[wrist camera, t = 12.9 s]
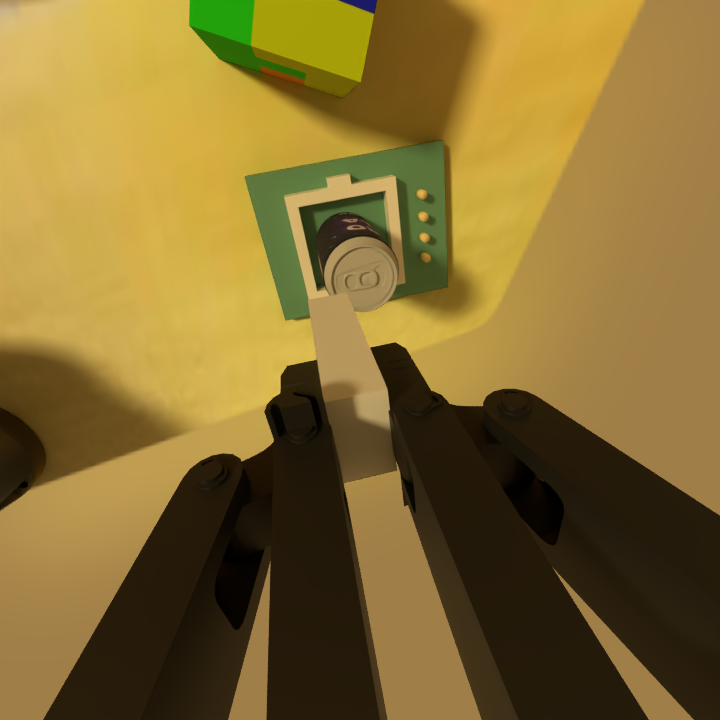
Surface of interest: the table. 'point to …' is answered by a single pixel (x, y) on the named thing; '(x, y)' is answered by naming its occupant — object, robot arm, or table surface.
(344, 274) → the beverage can
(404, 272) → the header board
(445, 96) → the table surface
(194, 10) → the puzzle toy
